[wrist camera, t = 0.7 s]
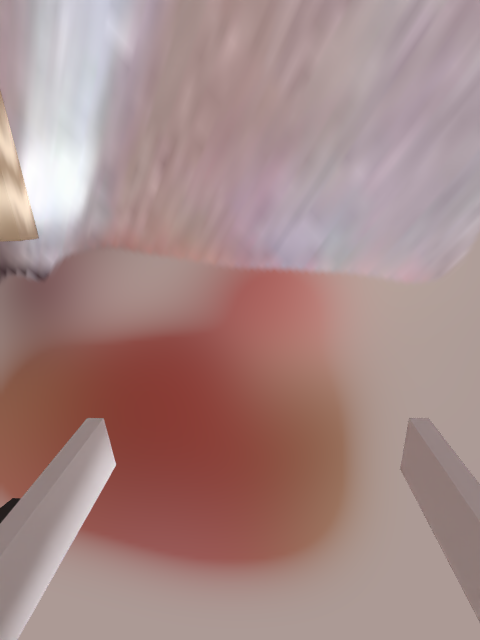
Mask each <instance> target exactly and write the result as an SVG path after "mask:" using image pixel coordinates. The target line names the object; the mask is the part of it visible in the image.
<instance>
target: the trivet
mask: <svg viewBox="0 0 480 640" xmlns="http://www.w3.org/2000/svg"><path fill="white" fill-rule="evenodd" d="M37 238H39V237H38V233H37V229H36V225H35V221H34V218H33V214H32V210H31V206H30V202H29V198H28V195H27V191H26V187H25V183H24V179H23V175H22V172H21V168H20V164H19V160H18V156H17V152H16V149H15V145H14V141H13V137H12V133H11V129H10V126H9V122H8V118H7V114H6V110H5V106H4V102H3V99H2V95H1V91H0V241H23V240H30V239H37Z"/></svg>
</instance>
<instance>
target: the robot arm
mask: <svg viewBox="0 0 480 640" xmlns="http://www.w3.org/2000/svg"><path fill="white" fill-rule="evenodd" d="M115 466H116V463H115V460H114V456H113V452H112V448H111V445H110V441H109V437H108V433H107V430H106V427H105V422H104V419H103V418H87V419H86V420H85V422H84V423H83V424H82V425H81V426H80V428H79V429H78V430H77V431H76V433H75V434H74V435H73V436H72V437H71V438H70V440H69V441H68V442H67V443H66V445H65V446H64V447H63V448H62V449H61V451H60V452H59V453H58V454H57V455H56V457H55V458H54V459H53V460H52V462H51V463H50V464H49V465H48V467H47V468H46V469H45V470H44V471H43V473H42V474H41V475H40V476H39V477H38V479H37V480H36V481H35V482H34V483H33V485H32V486H31V487H30V488H29V490H28V491H27V492H26V493H25V494H24V496H23V497H22V498H21V499H19V498H12V499H11V500H10V501H9V502H7V503H6V504H5V505H4V506H2V507H1V508H0V640H17V639H18V637H19V636H20V634H21V632H22V630H23V629H24V627H25V625H26V623H27V622H28V620H29V618H30V616H31V614H32V613H33V611H34V609H35V607H36V606H37V604H38V602H39V600H40V599H41V597H42V595H43V593H44V592H45V589H46V588H47V586H48V584H49V583H50V581H51V579H52V577H53V576H54V574H55V572H56V570H57V569H58V567H59V565H60V563H61V561H62V560H63V558H64V556H65V554H66V553H67V551H68V549H69V547H70V546H71V544H72V542H73V540H74V538H75V537H76V535H77V533H78V531H79V530H80V528H81V526H82V524H83V523H84V521H85V519H86V517H87V515H88V514H89V512H90V510H91V508H92V507H93V505H94V503H95V501H96V500H97V497H98V496H99V494H100V492H101V491H102V489H103V487H104V485H105V483H106V482H107V480H108V478H109V477H110V474H111V473H112V471H113V469H114V468H115ZM400 469H401V471H402V473H403V475H404V477H405V479H406V481H407V483H408V485H409V487H410V489H411V491H412V493H413V495H414V496H415V498H416V500H417V502H418V504H419V506H420V508H421V510H422V512H423V514H424V516H425V518H426V520H427V522H428V524H429V525H430V527H431V529H432V531H433V533H434V535H435V537H436V539H437V541H438V543H439V545H440V547H441V549H442V550H443V552H444V554H445V556H446V558H447V560H448V562H449V564H450V566H451V568H452V570H453V572H454V574H455V576H456V578H457V579H458V581H459V583H460V585H461V587H462V589H463V591H464V593H465V595H466V597H467V599H468V601H469V603H470V605H471V606H472V608H473V610H474V612H475V614H476V616H477V618H478V620H479V622H480V484H479V482H478V481H477V480H476V479H475V477H474V476H473V475H472V474H471V472H470V471H469V470H468V468H467V467H466V466H465V464H464V463H463V462H462V461H461V459H460V458H459V457H458V455H457V454H456V453H455V452H454V450H453V449H452V448H451V446H450V445H449V444H448V443H447V441H446V440H445V439H444V437H443V436H442V435H441V433H440V432H439V431H438V430H437V428H436V427H435V426H434V424H433V423H432V422H431V421H430V419H429V418H409V421H408V427H407V433H406V438H405V444H404V450H403V456H402V461H401V467H400Z"/></svg>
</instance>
